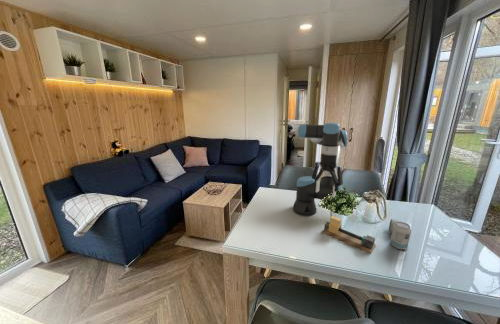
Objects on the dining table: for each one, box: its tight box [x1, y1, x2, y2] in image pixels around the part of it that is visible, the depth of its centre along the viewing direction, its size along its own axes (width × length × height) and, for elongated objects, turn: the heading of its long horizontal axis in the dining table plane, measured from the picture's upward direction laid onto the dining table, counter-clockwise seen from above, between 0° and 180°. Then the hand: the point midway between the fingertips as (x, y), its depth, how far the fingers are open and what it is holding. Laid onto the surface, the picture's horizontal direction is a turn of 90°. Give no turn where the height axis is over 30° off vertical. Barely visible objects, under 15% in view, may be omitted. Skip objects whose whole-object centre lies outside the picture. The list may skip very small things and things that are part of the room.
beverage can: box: [390, 221, 412, 250], centre depth 99 cm, size 7×7×12 cm
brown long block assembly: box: [321, 221, 377, 255], centre depth 105 cm, size 24×8×6 cm, turn 45°
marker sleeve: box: [328, 215, 343, 235], centre depth 110 cm, size 5×4×8 cm
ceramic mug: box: [388, 218, 408, 234], centre depth 110 cm, size 11×8×8 cm
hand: (325, 194), depth 110 cm, fingers open, 9 cm apart
